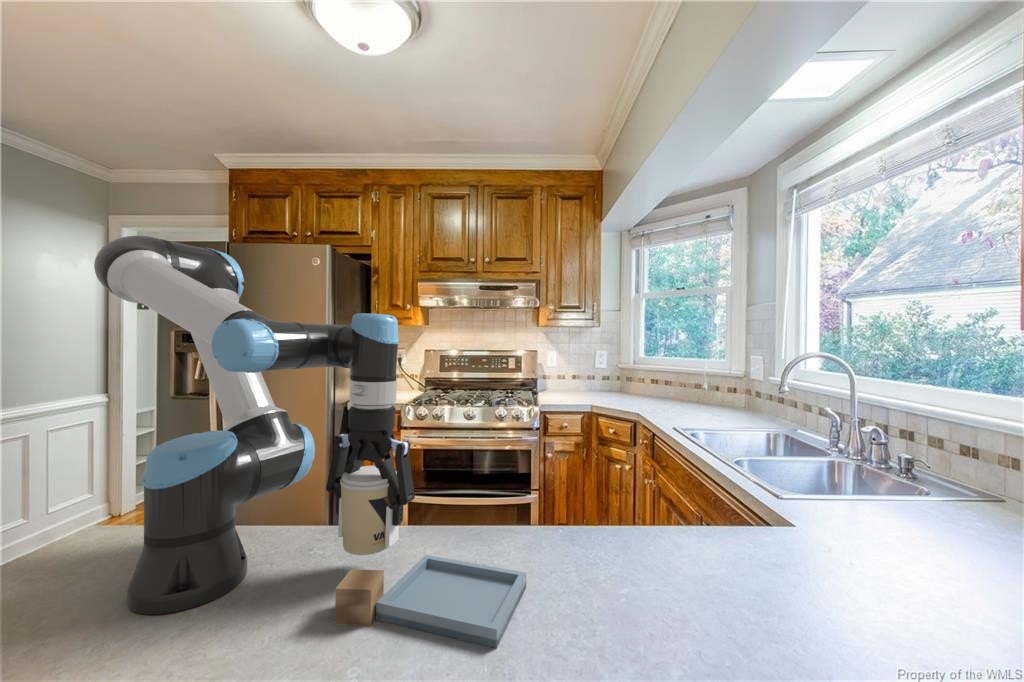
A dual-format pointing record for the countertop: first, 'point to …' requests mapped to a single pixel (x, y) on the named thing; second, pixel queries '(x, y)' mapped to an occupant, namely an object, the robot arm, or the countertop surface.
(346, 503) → the coffee cup
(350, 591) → the walnut block
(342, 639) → the countertop surface
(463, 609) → the collection tray
